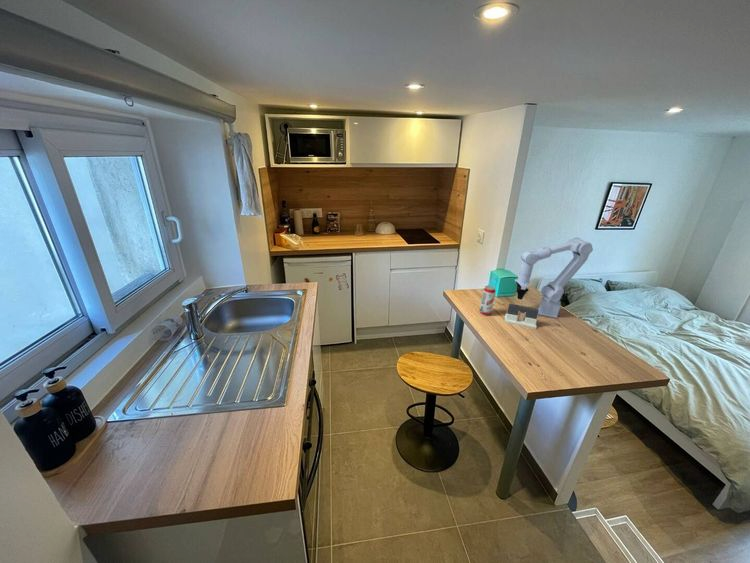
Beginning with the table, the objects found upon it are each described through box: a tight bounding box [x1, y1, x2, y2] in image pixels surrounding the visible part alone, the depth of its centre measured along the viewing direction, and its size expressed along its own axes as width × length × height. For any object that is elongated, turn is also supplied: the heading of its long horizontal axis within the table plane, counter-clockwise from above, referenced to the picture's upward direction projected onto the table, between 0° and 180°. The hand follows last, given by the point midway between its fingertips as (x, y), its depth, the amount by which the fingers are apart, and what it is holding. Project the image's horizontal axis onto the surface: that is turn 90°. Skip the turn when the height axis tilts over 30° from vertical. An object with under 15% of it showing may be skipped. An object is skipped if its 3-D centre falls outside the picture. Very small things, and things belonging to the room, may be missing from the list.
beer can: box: [479, 285, 496, 316], centre depth 159 cm, size 6×6×16 cm
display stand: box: [504, 311, 537, 330], centre depth 153 cm, size 15×8×6 cm, turn 69°
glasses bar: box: [506, 303, 539, 319], centre depth 152 cm, size 14×2×5 cm, turn 69°
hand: (519, 296), depth 159 cm, fingers open, 7 cm apart
